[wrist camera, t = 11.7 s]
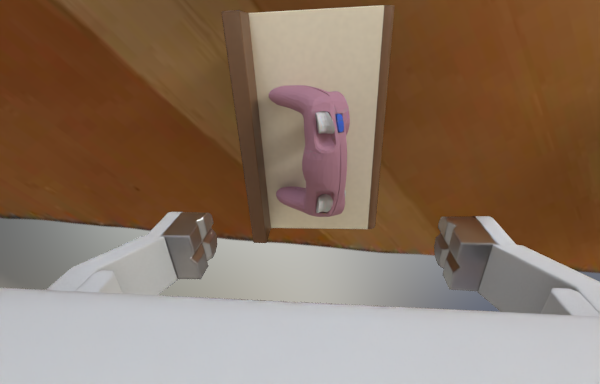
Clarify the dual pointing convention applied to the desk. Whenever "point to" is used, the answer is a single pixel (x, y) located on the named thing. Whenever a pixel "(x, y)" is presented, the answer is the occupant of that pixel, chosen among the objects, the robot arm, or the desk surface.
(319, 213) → the video game controller
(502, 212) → the desk surface
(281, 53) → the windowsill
